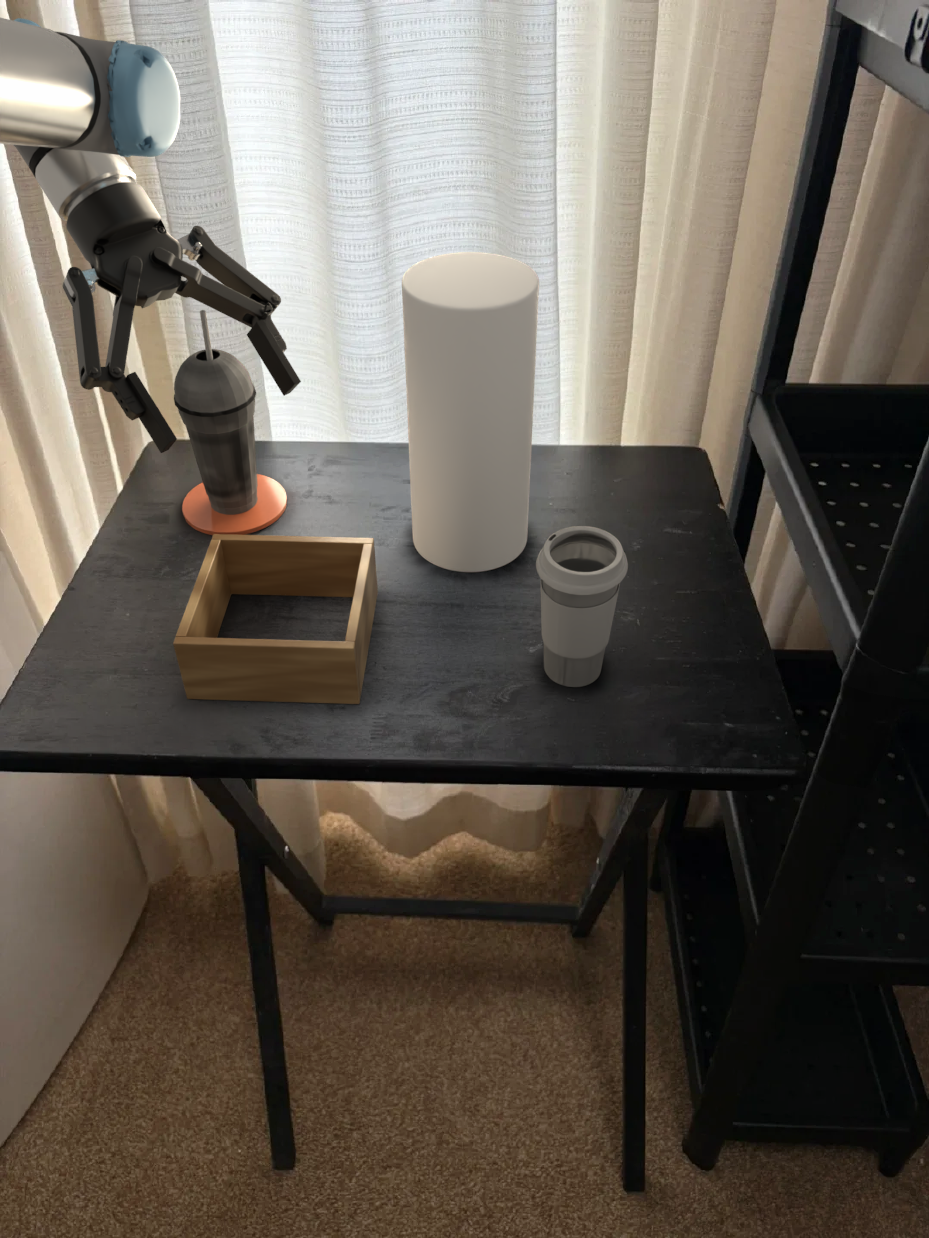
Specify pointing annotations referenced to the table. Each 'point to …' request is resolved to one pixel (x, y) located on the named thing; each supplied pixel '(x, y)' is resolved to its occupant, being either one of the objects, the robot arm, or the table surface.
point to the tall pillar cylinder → (470, 406)
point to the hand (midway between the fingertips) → (233, 416)
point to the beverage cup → (220, 424)
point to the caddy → (267, 662)
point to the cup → (578, 601)
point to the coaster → (247, 522)
